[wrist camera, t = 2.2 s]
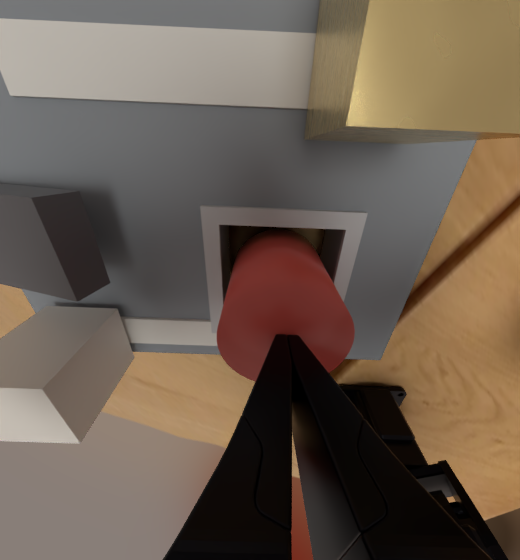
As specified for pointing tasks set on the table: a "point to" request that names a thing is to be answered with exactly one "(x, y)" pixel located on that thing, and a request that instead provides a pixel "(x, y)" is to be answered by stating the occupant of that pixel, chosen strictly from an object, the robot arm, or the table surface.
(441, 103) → the brass slider
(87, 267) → the block
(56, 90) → the panel
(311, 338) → the red button
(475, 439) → the table surface
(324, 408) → the robot arm
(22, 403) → the ivory slider
